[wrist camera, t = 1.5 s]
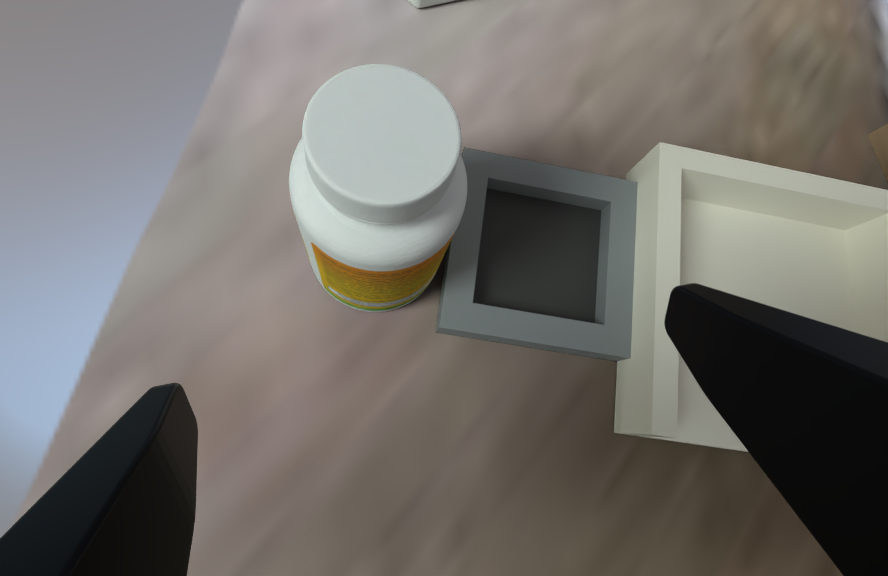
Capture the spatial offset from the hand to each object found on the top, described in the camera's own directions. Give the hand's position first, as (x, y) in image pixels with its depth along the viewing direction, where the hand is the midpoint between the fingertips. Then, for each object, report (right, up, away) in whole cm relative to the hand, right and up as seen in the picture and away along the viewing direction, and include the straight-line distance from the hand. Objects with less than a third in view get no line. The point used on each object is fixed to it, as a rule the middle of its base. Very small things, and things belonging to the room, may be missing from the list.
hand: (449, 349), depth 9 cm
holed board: (+4, +2, +14) cm, 15 cm away
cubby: (+14, 0, +15) cm, 20 cm away
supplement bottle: (-3, +3, +13) cm, 14 cm away
